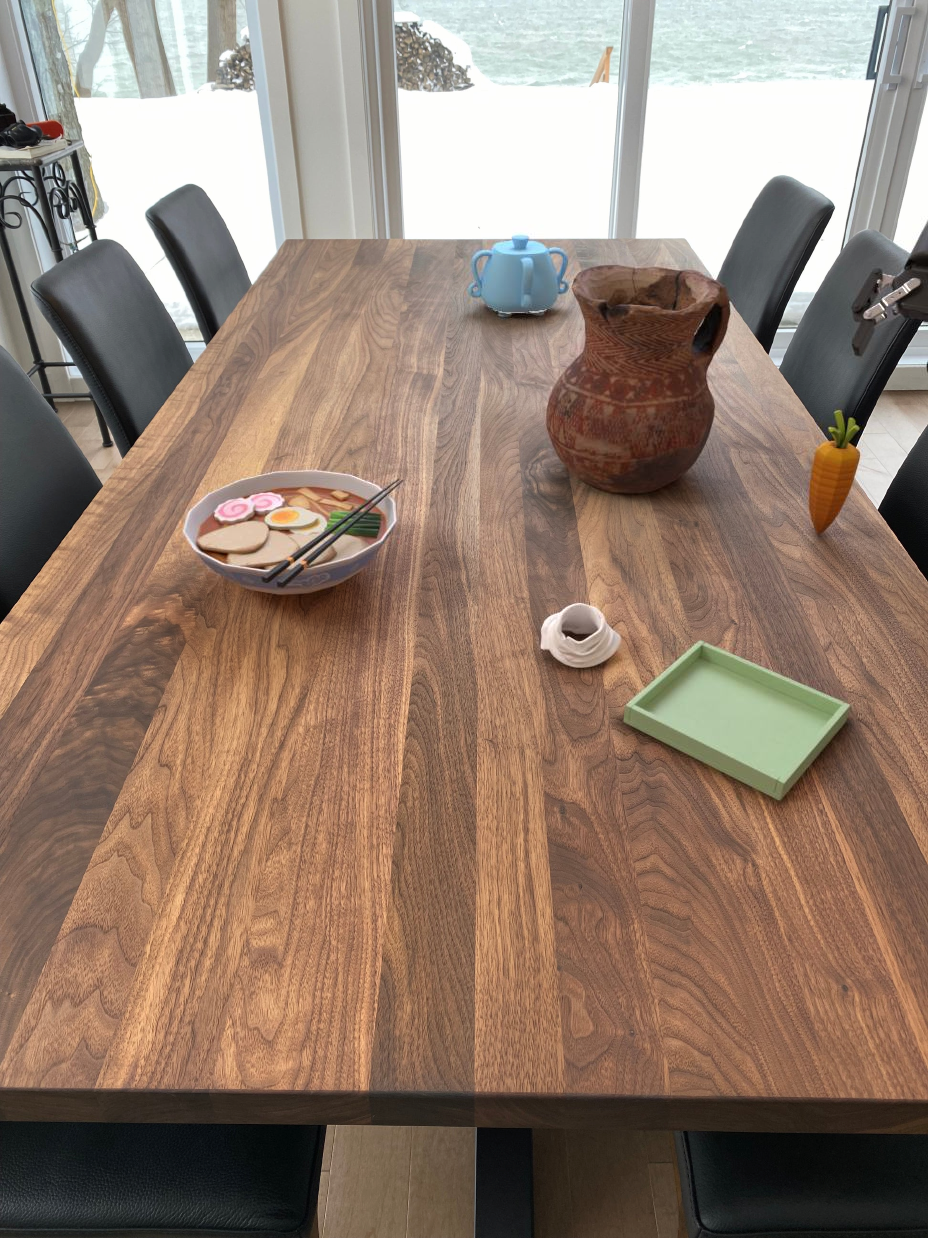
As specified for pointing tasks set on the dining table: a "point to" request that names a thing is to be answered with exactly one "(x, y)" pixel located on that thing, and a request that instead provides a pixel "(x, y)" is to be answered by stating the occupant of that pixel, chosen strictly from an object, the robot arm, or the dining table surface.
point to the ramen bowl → (291, 529)
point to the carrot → (832, 474)
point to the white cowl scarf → (579, 622)
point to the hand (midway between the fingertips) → (892, 361)
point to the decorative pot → (519, 276)
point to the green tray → (738, 717)
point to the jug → (639, 377)
